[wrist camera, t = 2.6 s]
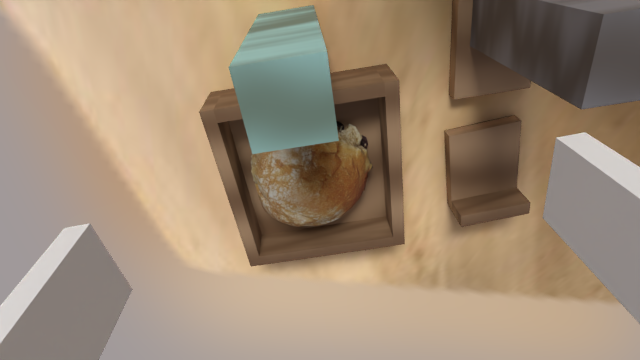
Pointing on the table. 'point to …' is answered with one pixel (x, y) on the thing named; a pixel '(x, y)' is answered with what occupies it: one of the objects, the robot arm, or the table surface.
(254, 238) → the open wooden tray
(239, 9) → the table surface
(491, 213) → the strip
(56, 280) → the robot arm
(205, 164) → the table surface
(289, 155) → the bread roll
